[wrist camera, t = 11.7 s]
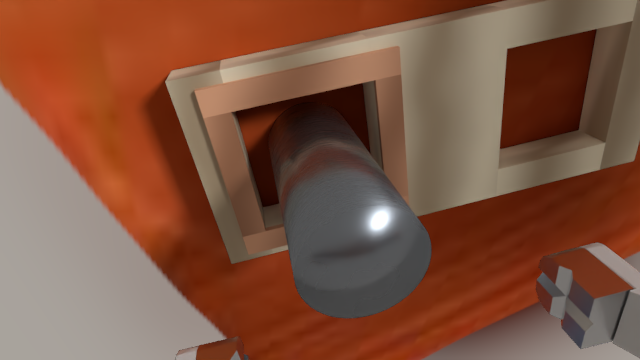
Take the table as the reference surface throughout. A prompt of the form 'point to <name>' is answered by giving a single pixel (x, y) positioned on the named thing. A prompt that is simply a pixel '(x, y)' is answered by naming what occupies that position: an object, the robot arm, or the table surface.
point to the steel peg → (342, 217)
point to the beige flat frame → (418, 108)
